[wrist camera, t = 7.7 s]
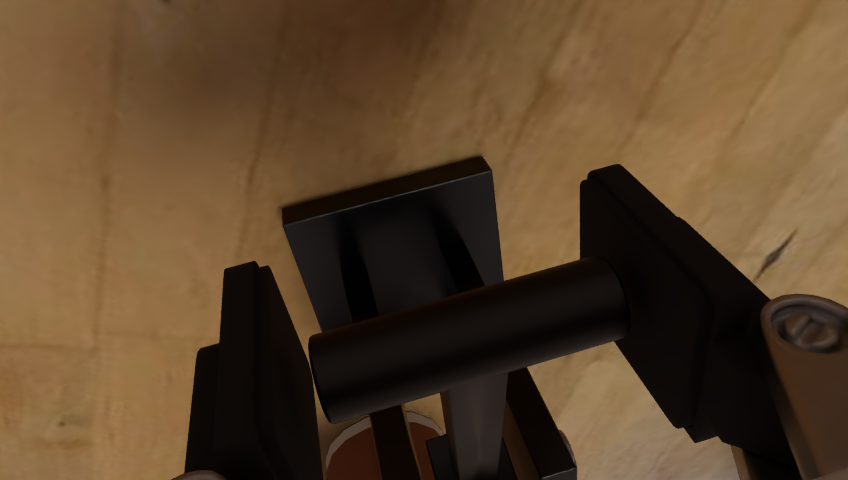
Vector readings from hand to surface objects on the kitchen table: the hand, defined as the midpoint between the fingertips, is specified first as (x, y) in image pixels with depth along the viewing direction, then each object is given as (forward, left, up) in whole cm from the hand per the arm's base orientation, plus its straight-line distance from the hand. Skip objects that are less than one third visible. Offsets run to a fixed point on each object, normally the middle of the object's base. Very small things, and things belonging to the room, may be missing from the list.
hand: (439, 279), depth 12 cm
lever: (+4, 0, -1) cm, 4 cm away
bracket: (+9, 0, -11) cm, 14 cm away
